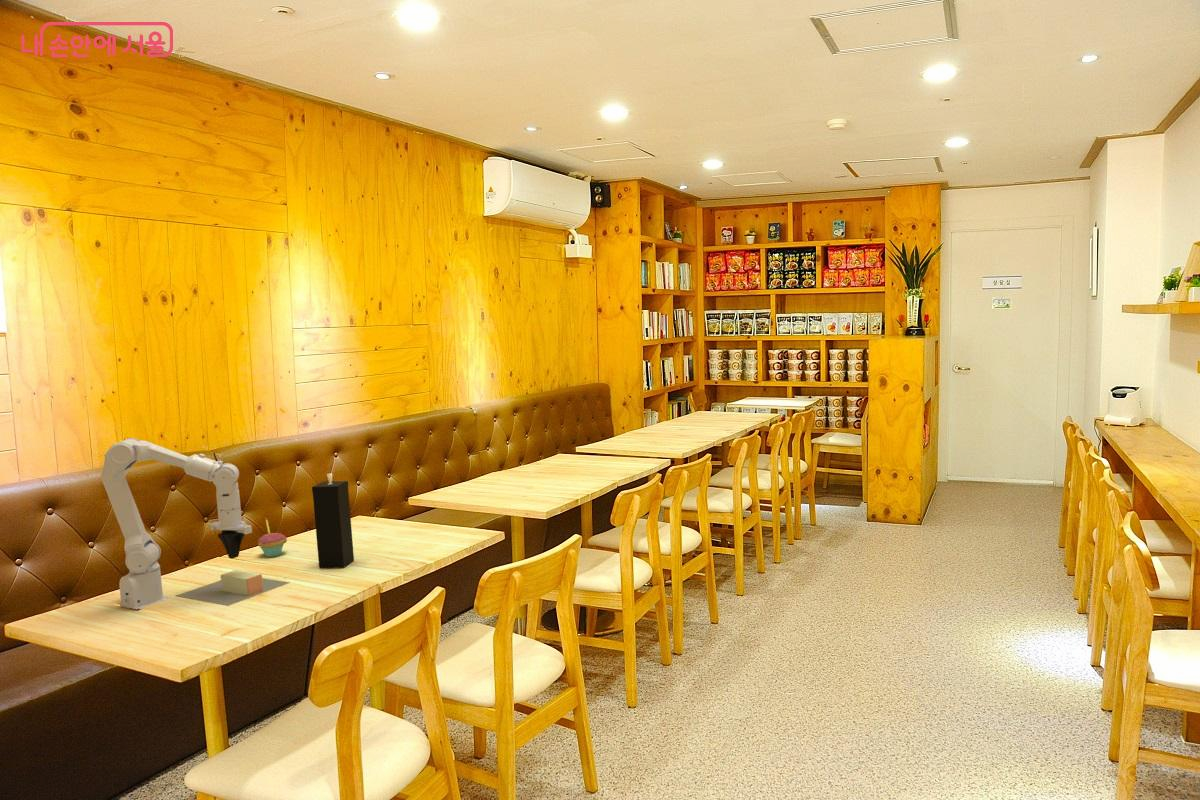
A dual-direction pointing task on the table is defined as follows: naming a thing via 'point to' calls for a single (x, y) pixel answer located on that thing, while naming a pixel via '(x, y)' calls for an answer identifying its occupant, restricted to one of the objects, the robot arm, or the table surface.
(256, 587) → the sage block
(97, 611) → the table surface
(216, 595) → the rubber mat
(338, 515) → the black pillar candle
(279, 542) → the cupcake
